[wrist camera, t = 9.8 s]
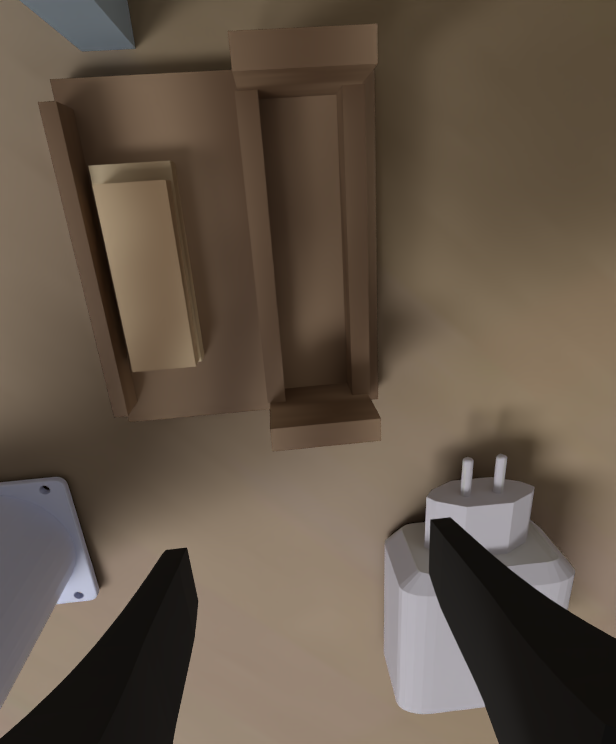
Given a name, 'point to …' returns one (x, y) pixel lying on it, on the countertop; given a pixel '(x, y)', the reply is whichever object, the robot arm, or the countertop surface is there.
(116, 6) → the board
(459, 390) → the countertop surface
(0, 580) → the robot arm
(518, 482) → the charger
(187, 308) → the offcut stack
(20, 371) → the countertop surface
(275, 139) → the tray
